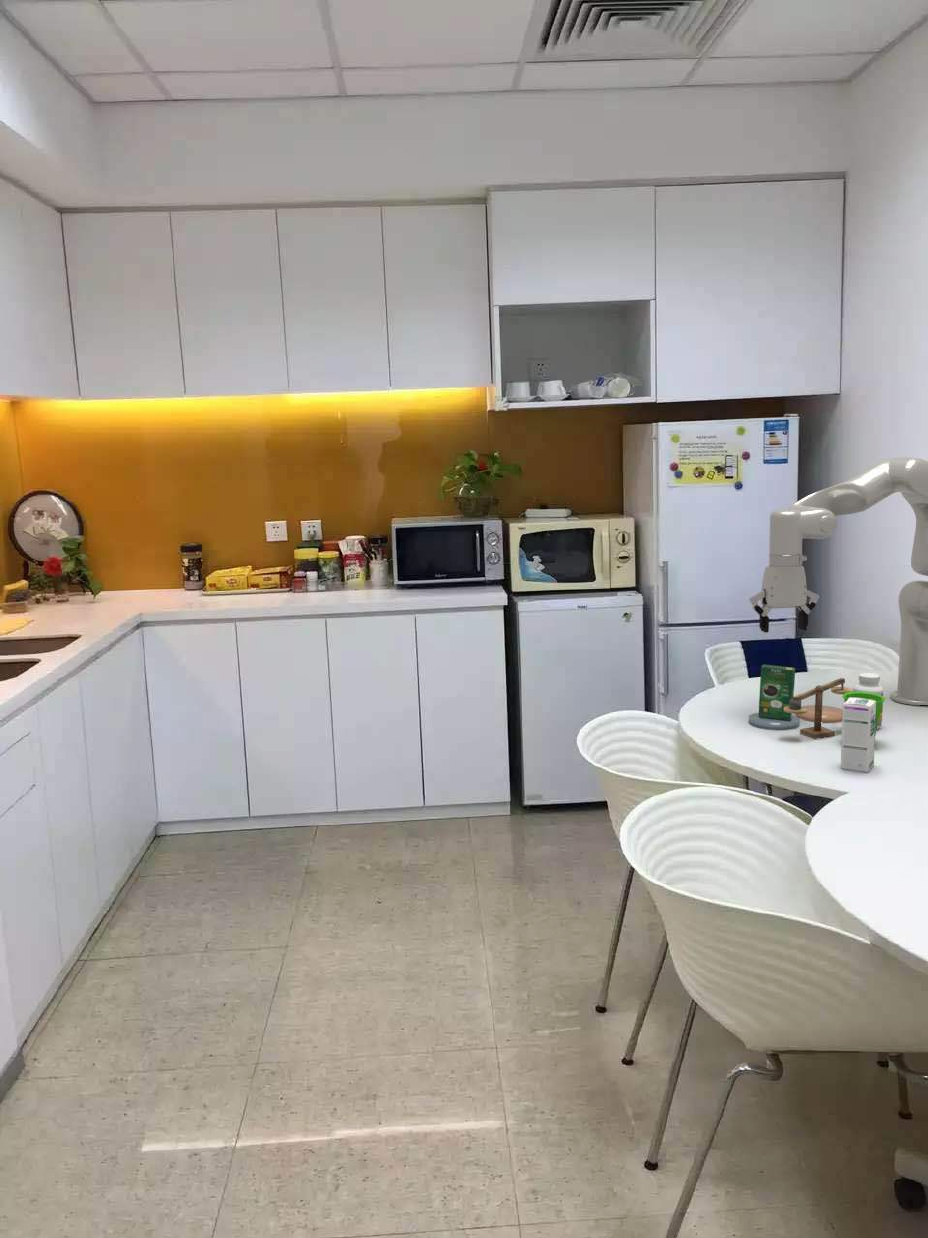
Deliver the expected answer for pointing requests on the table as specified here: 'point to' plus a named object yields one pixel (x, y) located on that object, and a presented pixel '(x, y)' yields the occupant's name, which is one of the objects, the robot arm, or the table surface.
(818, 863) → the table surface
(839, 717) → the dish
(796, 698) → the balance
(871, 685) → the supplement bottle
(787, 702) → the coffee box
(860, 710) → the syrup box
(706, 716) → the table surface
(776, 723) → the dish
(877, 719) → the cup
